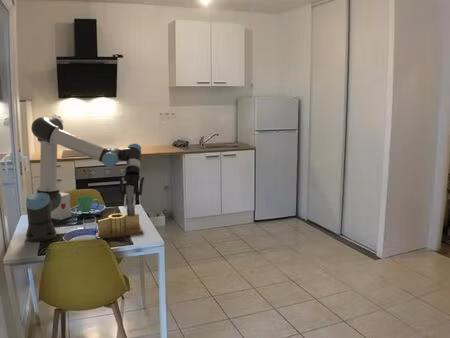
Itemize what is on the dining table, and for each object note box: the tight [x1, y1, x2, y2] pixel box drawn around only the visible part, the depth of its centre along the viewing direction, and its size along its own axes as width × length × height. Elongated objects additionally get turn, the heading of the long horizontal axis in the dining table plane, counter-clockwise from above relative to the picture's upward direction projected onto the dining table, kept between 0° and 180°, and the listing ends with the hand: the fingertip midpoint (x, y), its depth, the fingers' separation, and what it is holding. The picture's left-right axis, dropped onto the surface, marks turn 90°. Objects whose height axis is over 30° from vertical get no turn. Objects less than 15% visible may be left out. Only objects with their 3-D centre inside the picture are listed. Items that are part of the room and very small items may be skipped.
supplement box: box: [51, 192, 72, 221], centre depth 263 cm, size 9×9×15 cm
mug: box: [76, 196, 101, 213], centre depth 271 cm, size 15×10×10 cm
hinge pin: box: [126, 184, 136, 217], centre depth 221 cm, size 4×4×16 cm
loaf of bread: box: [95, 212, 144, 239], centre depth 235 cm, size 25×15×10 cm, turn 109°
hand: (129, 206), depth 217 cm, fingers closed on hinge pin, 4 cm apart
